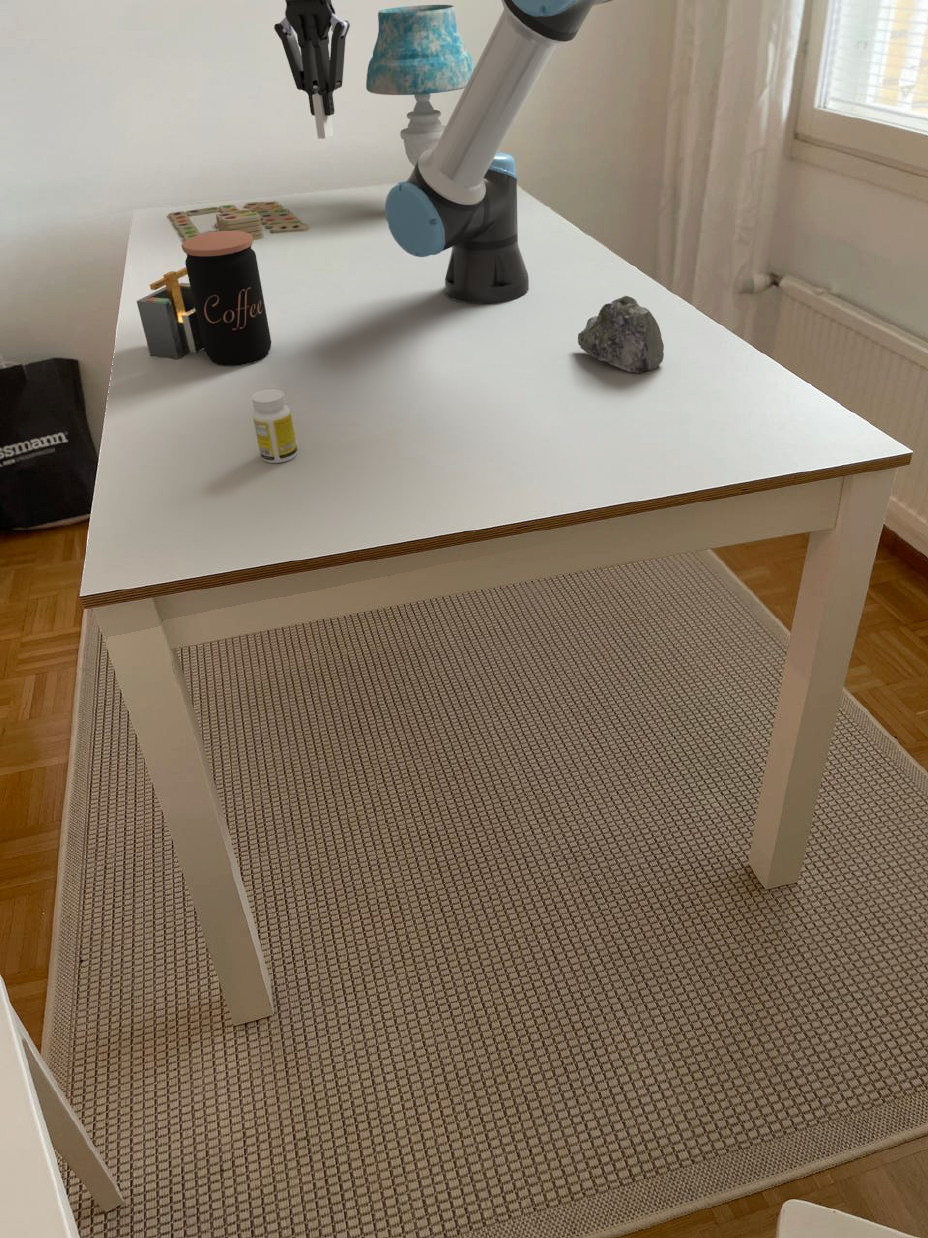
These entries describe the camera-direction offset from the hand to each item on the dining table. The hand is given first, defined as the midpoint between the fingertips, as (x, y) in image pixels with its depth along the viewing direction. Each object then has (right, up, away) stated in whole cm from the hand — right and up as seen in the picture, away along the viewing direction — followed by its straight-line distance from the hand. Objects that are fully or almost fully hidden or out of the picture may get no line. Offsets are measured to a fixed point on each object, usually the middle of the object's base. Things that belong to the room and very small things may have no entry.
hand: (325, 136), depth 166 cm
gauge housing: (-24, -36, -3) cm, 44 cm away
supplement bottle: (-1, -60, -38) cm, 71 cm away
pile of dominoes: (-30, +10, +63) cm, 71 cm away
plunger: (-20, -36, -5) cm, 42 cm away
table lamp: (+16, +12, +61) cm, 64 cm away
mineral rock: (+47, -43, -18) cm, 66 cm away
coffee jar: (-13, -39, -7) cm, 42 cm away
